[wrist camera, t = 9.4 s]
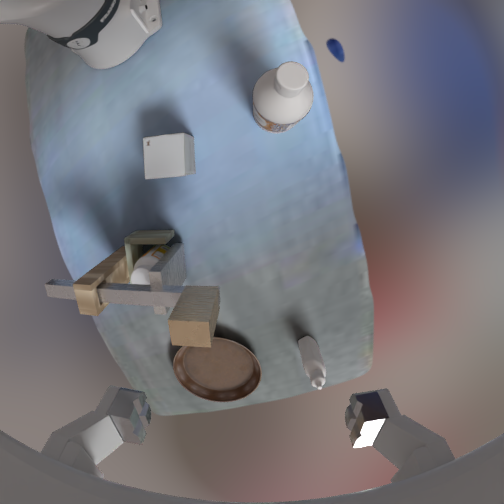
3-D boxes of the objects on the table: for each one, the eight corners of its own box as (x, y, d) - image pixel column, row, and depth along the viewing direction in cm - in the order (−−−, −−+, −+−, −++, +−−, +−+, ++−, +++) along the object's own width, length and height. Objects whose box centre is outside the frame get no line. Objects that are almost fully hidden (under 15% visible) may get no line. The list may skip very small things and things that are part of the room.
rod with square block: (87, 243, 45) (12, 291, 25) (227, 243, 45) (207, 308, 25) (92, 274, 47) (25, 331, 27) (228, 278, 47) (212, 358, 27)
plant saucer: (163, 336, 52) (159, 344, 50) (250, 321, 51) (249, 330, 48) (193, 396, 58) (191, 405, 55) (269, 386, 56) (269, 396, 53)
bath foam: (245, 102, 39) (238, 58, 20) (285, 86, 38) (308, 33, 19) (264, 140, 41) (274, 123, 22) (305, 123, 40) (344, 96, 21)
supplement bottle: (150, 273, 48) (130, 297, 39) (146, 244, 46) (123, 263, 37) (179, 272, 48) (163, 298, 39) (175, 242, 46) (157, 262, 37)
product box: (160, 176, 43) (143, 179, 36) (158, 140, 41) (141, 136, 34) (196, 174, 43) (185, 176, 36) (195, 136, 41) (184, 131, 34)
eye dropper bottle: (297, 357, 53) (306, 400, 42) (297, 335, 52) (307, 377, 40) (318, 355, 53) (331, 397, 42) (320, 333, 52) (334, 374, 40)
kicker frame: (121, 230, 46) (68, 263, 30) (174, 229, 45) (135, 265, 30) (128, 283, 49) (85, 331, 33) (178, 285, 49) (148, 339, 33)
